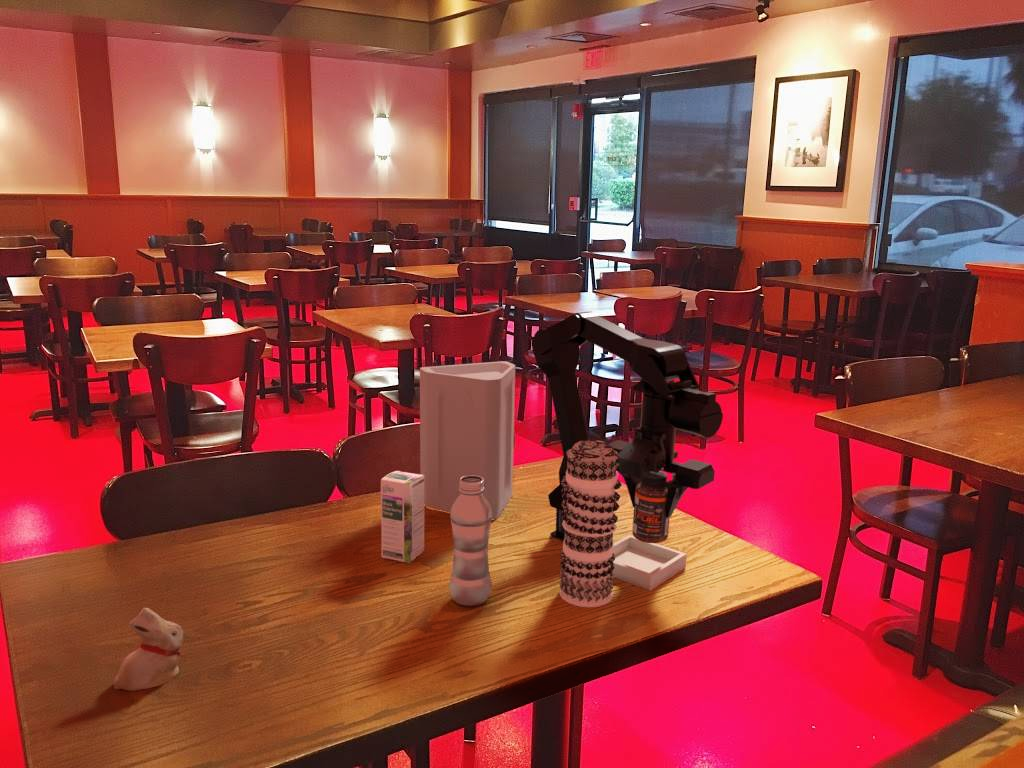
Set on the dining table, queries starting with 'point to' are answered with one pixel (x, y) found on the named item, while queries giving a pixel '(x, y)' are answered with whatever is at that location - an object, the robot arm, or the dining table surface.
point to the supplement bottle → (651, 509)
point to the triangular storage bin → (467, 431)
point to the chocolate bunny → (151, 653)
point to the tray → (645, 562)
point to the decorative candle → (589, 523)
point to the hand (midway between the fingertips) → (651, 511)
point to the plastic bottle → (470, 543)
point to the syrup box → (402, 516)
